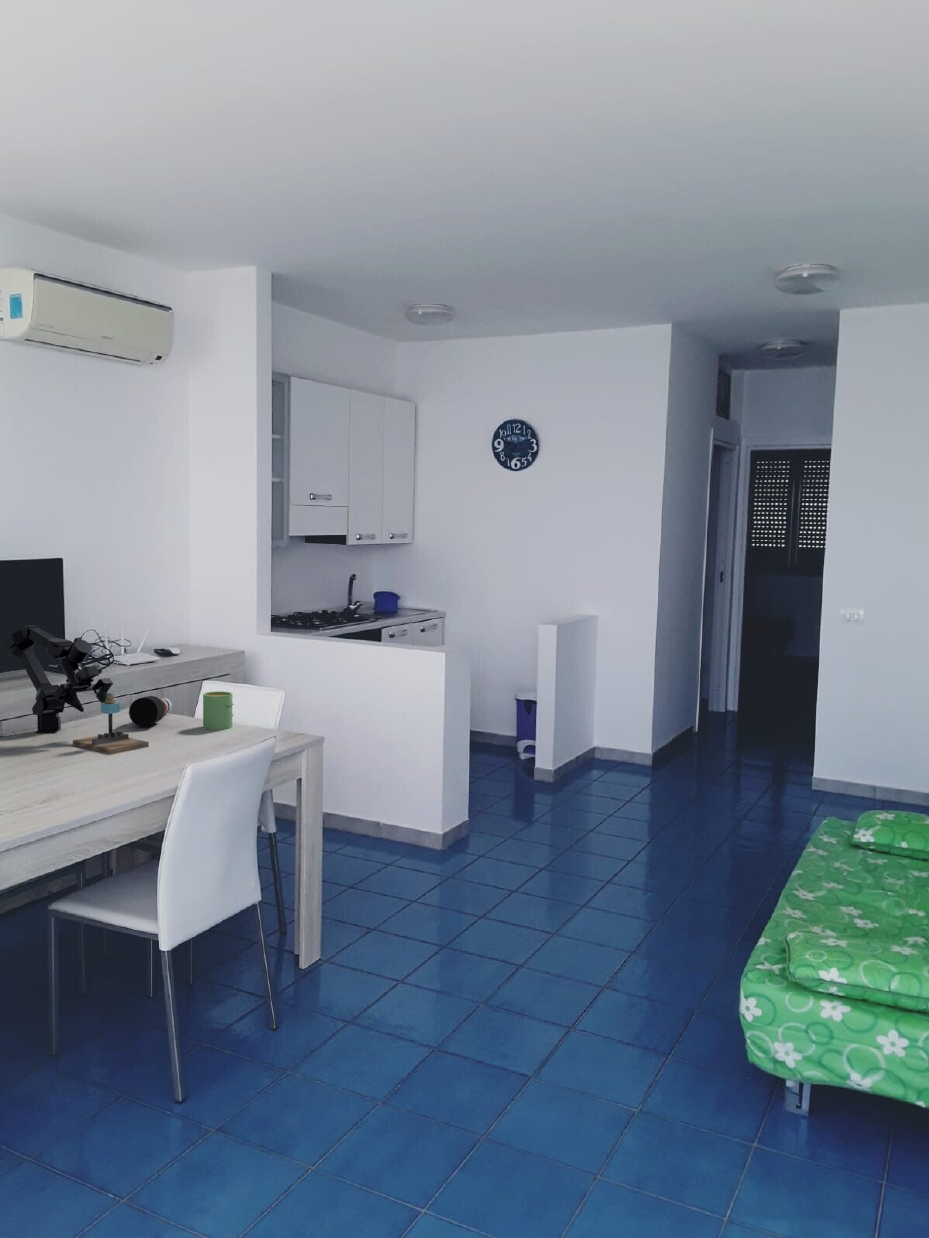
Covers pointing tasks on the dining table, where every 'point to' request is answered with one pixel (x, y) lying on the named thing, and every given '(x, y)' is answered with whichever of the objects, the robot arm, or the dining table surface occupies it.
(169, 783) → the dining table surface
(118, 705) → the sleeve
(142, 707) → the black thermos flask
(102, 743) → the wooden base post stand
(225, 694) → the mug
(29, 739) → the dining table surface
